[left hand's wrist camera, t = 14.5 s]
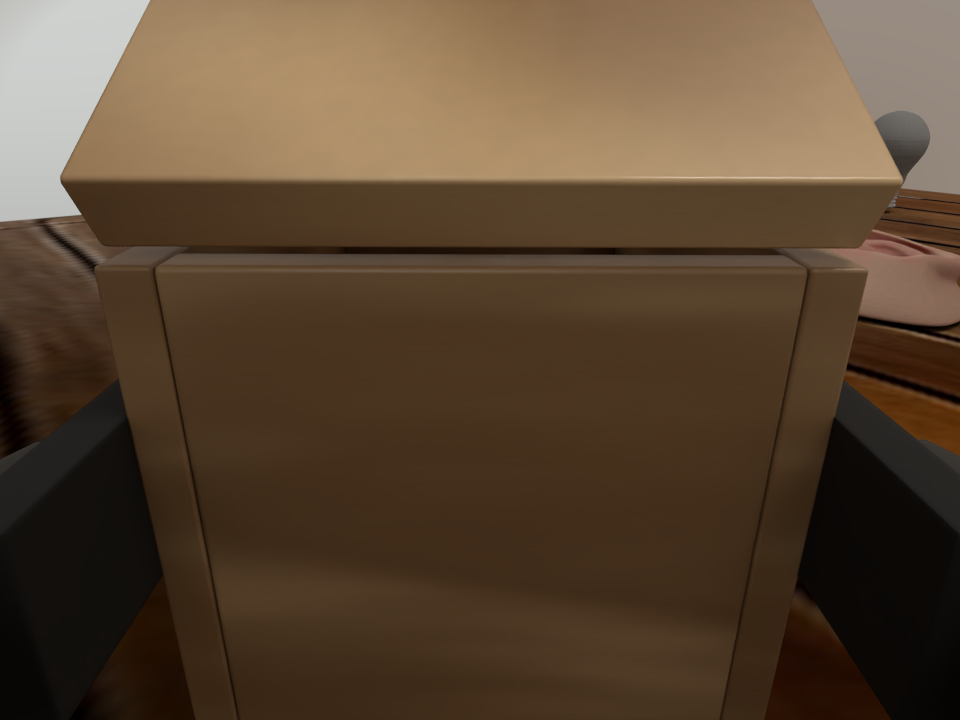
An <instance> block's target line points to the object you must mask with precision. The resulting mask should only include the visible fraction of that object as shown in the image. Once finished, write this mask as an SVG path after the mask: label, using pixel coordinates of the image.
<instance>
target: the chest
mask: <svg viewBox="0 0 960 720" xmlns="http://www.w3.org/2000/svg"><path fill="white" fill-rule="evenodd" d="M94 272H95V276H96V281H97V285H98V290H99V294H100V298H101V303H102V307H103V312H104V316H105V321H106V325H107V330H108V334H109V338H110V343H111V347H112V352H113V356H114V361H115V365H116V370H117V374H118V379H119V383H120V387H121V392H122V396H123V401H124V405H125V410H126V414H127V419H128V423H129V427H130V432H131V436H132V441H133V445H134V450H135V454H136V459H137V463H138V467H139V472H140V476H141V481H142V485H143V490H144V494H145V499H146V503H147V507H148V512H149V516H150V521H151V525H152V530H153V534H154V539H155V543H156V547H157V552H158V556H159V561H160V565H161V570H162V574H163V579H164V583H165V588H166V592H167V596H168V601H169V605H170V610H171V614H172V619H173V623H174V628H175V632H176V636H177V641H178V645H179V650H180V654H181V659H182V663H183V668H184V672H185V676H186V681H187V685H188V690H189V694H190V699H191V703H192V708H193V712H194V716H195V720H764V718H765V714H766V709H767V705H768V701H769V697H770V692H771V688H772V684H773V679H774V675H775V671H776V667H777V662H778V658H779V654H780V649H781V645H782V641H783V637H784V632H785V628H786V624H787V619H788V615H789V611H790V607H791V602H792V598H793V594H794V589H795V585H796V581H797V576H798V572H799V567H800V563H801V559H802V554H803V550H804V546H805V541H806V537H807V532H808V528H809V524H810V519H811V515H812V511H813V506H814V502H815V498H816V493H817V489H818V485H819V480H820V476H821V472H822V467H823V463H824V459H825V454H826V450H827V446H828V441H829V437H830V433H831V428H832V424H833V420H834V417H835V414H836V409H837V405H838V401H839V396H840V392H841V388H842V384H843V379H844V375H845V371H846V366H847V362H848V358H849V354H850V349H851V345H852V341H853V336H854V332H855V328H856V324H857V319H858V315H859V311H860V306H861V302H862V298H863V294H864V289H865V285H866V281H867V276H868V269H867V268H865V267H863V266H861V265H859V264H857V263H855V262H853V261H851V260H849V259H847V258H845V257H843V256H841V255H839V254H837V253H835V252H833V251H831V250H829V249H815V248H481V247H148V246H135V247H133V248H131V249H129V250H127V251H125V252H123V253H121V254H119V255H117V256H115V257H113V258H111V259H109V260H107V261H105V262H103V263H101V264H99V265H97V266H96V267H95V270H94Z"/></svg>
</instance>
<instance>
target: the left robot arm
mask: <svg viewBox="0 0 960 720" xmlns="http://www.w3.org/2000/svg"><path fill="white" fill-rule="evenodd" d="M162 576H163V574H162V570H161V565H160V561H159V556H158V552H157V547H156V543H155V539H154V534H153V530H152V525H151V521H150V516H149V512H148V507H147V503H146V499H145V494H144V490H143V485H142V481H141V476H140V472H139V467H138V463H137V459H136V454H135V450H134V445H133V441H132V436H131V432H130V427H129V423H128V419H127V414H126V410H125V405H124V401H123V396H122V392H121V387H120V383H119V379H118V380H117V381H115V382H114V383H113V384H112V385H111V386H109V387H108V388H107V389H106V390H104V391H103V392H102V393H101V394H99V395H98V396H97V397H96V398H95V399H93V400H92V401H91V402H90V403H88V404H87V405H86V406H85V407H83V408H82V409H81V410H80V411H78V412H77V413H76V414H75V415H74V416H72V417H71V418H70V419H69V420H67V421H66V422H65V423H64V424H62V425H61V426H60V427H59V428H57V429H56V430H55V431H54V432H53V433H51V434H50V435H49V436H48V437H46V438H45V439H44V440H43V441H41V442H35V443H33V444H31V445H29V446H27V447H25V448H23V449H21V450H19V451H17V452H15V453H13V454H11V455H8V456H6V457H4V458H2V459H0V720H69V719H70V717H71V716H72V714H73V713H74V711H75V710H76V708H77V707H78V705H79V704H80V702H81V700H82V699H83V697H84V696H85V694H86V693H87V691H88V690H89V688H90V687H91V685H92V683H93V682H94V680H95V679H96V677H97V676H98V674H99V673H100V671H101V670H102V668H103V667H104V665H105V663H106V662H107V660H108V659H109V657H110V656H111V654H112V653H113V651H114V650H115V648H116V646H117V645H118V643H119V642H120V640H121V639H122V637H123V636H124V634H125V633H126V631H127V630H128V628H129V626H130V625H131V623H132V622H133V620H134V619H135V617H136V616H137V614H138V613H139V611H140V609H141V608H142V606H143V605H144V603H145V602H146V600H147V599H148V597H149V596H150V594H151V592H152V591H153V589H154V588H155V586H156V585H157V583H158V582H159V580H160V579H161V577H162ZM798 576H799V578H800V579H801V581H802V582H803V584H804V585H805V587H806V588H807V590H808V591H809V593H810V595H811V596H812V598H813V599H814V601H815V602H816V604H817V605H818V607H819V608H820V610H821V612H822V613H823V615H824V616H825V618H826V619H827V621H828V622H829V624H830V625H831V627H832V628H833V630H834V632H835V633H836V635H837V636H838V638H839V639H840V641H841V642H842V644H843V645H844V647H845V649H846V650H847V652H848V653H849V655H850V656H851V658H852V659H853V661H854V662H855V664H856V666H857V667H858V669H859V670H860V672H861V673H862V675H863V676H864V678H865V679H866V681H867V682H868V684H869V686H870V687H871V689H872V690H873V692H874V693H875V695H876V696H877V698H878V699H879V701H880V703H881V704H882V706H883V707H884V709H885V710H886V712H887V713H888V715H889V716H890V718H891V719H892V720H960V456H958V455H956V454H954V453H952V452H950V451H948V450H946V449H943V448H941V447H939V446H937V445H935V444H933V443H931V442H929V441H927V440H917V439H916V438H914V437H913V436H912V435H911V434H909V433H908V432H907V431H906V430H904V429H903V428H902V427H901V426H900V425H898V424H897V423H896V422H895V421H893V420H892V419H891V418H890V417H888V416H887V415H886V414H885V413H883V412H882V411H881V410H880V409H879V408H877V407H876V406H875V405H874V404H872V403H871V402H870V401H869V400H867V399H866V398H865V397H864V396H862V395H861V394H860V393H859V392H858V391H856V390H855V389H854V388H853V387H851V386H850V385H849V384H848V383H846V382H845V381H844V380H843V384H842V388H841V392H840V396H839V401H838V405H837V409H836V414H835V417H834V420H833V424H832V428H831V433H830V437H829V441H828V446H827V450H826V454H825V459H824V463H823V467H822V472H821V476H820V480H819V485H818V489H817V493H816V498H815V502H814V506H813V511H812V515H811V519H810V524H809V528H808V532H807V537H806V541H805V546H804V550H803V554H802V559H801V563H800V567H799V572H798Z"/></svg>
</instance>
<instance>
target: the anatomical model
mask: <svg viewBox="0 0 960 720" xmlns="http://www.w3.org/2000/svg"><path fill="white" fill-rule="evenodd" d="M829 250H831V251H833V252H835V253H837V254H839V255H841V256H843V257H845V258H847V259H849V260H851V261H853V262H855V263H857V264H859V265H861V266H863V267H865V268H867V269H868V276H867V281H866V285H865V289H864V294H863V298H862V302H861V306H860V311H859V315H858V316H861V317H866V318H872V319H878V320H883V321H889V322H896V323H903V324H909V325H918V326H932V327H938V326H947V325H951V324H954V323H957V322H959V321H960V288H959V287H958V285H957V281H958V280H959V279H960V255H956V254H953V253H950V252H946V251H943V250H939V249H935V248H932V247H929V246H926V245H922V244H919V243H916V242H913V241H910V240H907V239H904V238H901V237H898V236H895V235H891V234H888V233H884V232H880V231H877V230H872V231H871V233H870V234H869V236H868V237H867V239H866V240H865V242H864V243H863V245H862V246H860V247H859V248H856V249H829Z"/></svg>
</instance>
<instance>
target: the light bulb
mask: <svg viewBox="0 0 960 720" xmlns="http://www.w3.org/2000/svg"><path fill="white" fill-rule="evenodd" d="M874 123H875V125H876V127H877V129H878V131H879V133H880V135H881V137H882V139H883V141H884V143H885V145H886V147H887V149H888V151H889V153H890V155H891V156H892V158H893V160H894V162H895V164H896V166H897V168H898V170H899V172H900V174H901V176H902V178H903V183H904V181H905V179H906V176H907V174H908V173H909V171H910V170H911V169H912V168H913V166H914V165H915V164H916V163H917V162H918V161H919V159H920V158H921V157H922V156H923V155H924V153H925V152H926V149H927V148H928V145H929V141H930V132H929V129H928V127H927V125H926V123H925V122H924V120H923V119H922V118H921V117H920V116H918V115H916V114H914V113H911V112H907V111H896V112H892V113H888V114H886V115H883V116H882V117H880V118H879V119H878V120H876V121H875V122H874ZM903 183H902V185H903ZM898 192H899V191H898ZM898 192H897V194H898ZM895 198H897V197H896V195H895V197H894V198H893V200H892V201H891V203H890V204H889V206H888V207H887V209H890V208H892V207H894V206H895V205H896V204H894V202H896V201H895ZM887 209H886V210H887Z"/></svg>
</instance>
